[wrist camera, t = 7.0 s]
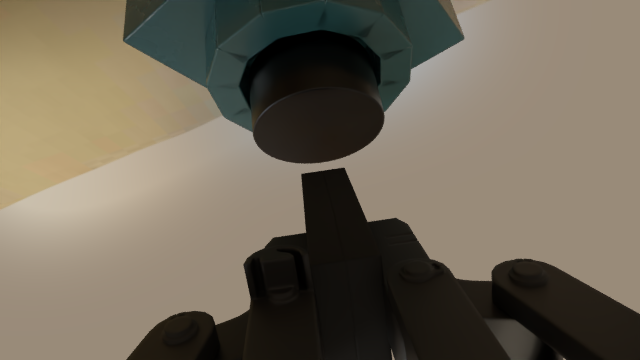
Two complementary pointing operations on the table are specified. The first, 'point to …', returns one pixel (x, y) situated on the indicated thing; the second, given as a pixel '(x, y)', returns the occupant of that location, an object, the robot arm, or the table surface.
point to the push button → (314, 98)
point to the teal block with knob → (281, 21)
